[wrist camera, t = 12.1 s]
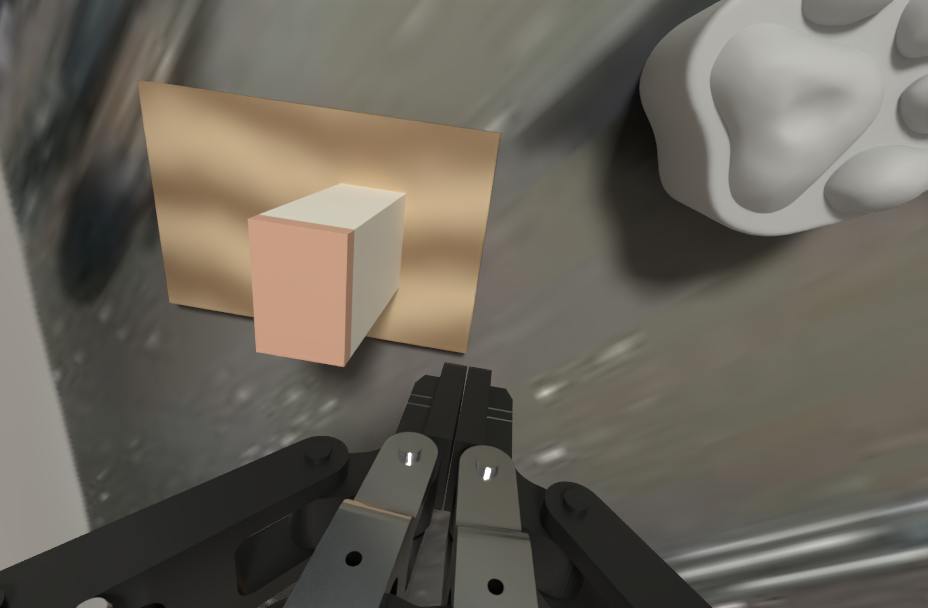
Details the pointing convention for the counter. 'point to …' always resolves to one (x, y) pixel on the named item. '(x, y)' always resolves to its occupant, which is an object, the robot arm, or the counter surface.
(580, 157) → the counter surface
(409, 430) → the robot arm
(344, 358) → the block
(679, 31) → the paw stamp
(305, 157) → the board
